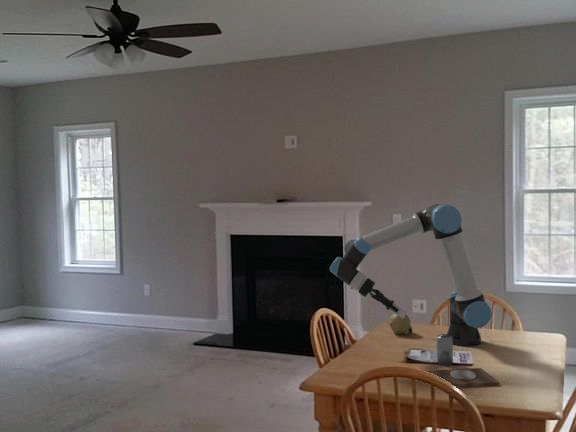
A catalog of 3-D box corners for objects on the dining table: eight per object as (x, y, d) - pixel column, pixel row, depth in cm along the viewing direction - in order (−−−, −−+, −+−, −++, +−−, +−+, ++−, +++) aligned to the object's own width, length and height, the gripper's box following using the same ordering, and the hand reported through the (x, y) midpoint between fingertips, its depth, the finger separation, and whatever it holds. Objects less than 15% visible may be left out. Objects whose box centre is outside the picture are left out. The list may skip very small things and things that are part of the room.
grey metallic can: (449, 361, 223) (449, 333, 222) (455, 365, 217) (454, 336, 216) (435, 361, 222) (434, 333, 222) (440, 366, 216) (439, 337, 216)
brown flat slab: (480, 371, 209) (480, 365, 209) (499, 385, 193) (499, 379, 193) (429, 373, 208) (429, 368, 208) (443, 388, 192) (443, 382, 192)
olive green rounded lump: (402, 343, 264) (419, 328, 262) (385, 325, 264) (401, 310, 262) (399, 337, 273) (415, 323, 272) (383, 319, 273) (399, 305, 272)
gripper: (359, 291, 245) (399, 320, 240) (354, 292, 220) (399, 324, 215) (369, 277, 245) (409, 306, 240) (365, 276, 220) (410, 309, 215)
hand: (404, 315), depth 227 cm, fingers open, 13 cm apart
